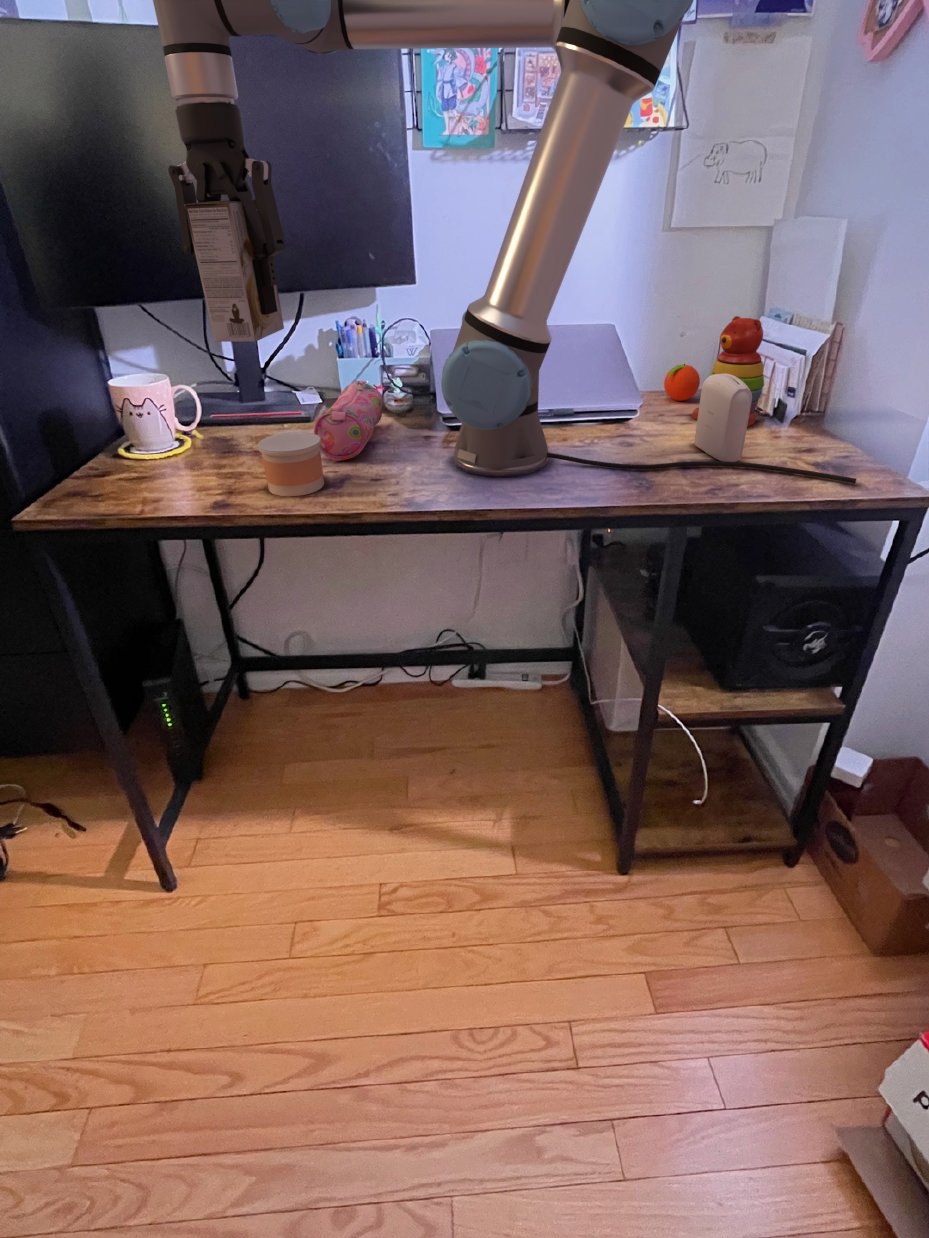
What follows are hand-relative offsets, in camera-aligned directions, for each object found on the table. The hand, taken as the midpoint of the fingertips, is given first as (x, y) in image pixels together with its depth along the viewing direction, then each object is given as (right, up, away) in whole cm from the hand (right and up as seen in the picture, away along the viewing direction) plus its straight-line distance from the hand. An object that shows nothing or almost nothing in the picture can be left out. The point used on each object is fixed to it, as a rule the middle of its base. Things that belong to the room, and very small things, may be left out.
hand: (245, 312), depth 95 cm
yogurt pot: (+4, -21, +12) cm, 25 cm away
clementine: (+73, +3, +47) cm, 87 cm away
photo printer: (+71, -15, +20) cm, 75 cm away
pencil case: (+10, -11, +29) cm, 33 cm away
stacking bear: (+79, -5, +35) cm, 86 cm away
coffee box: (0, -3, +2) cm, 3 cm away
